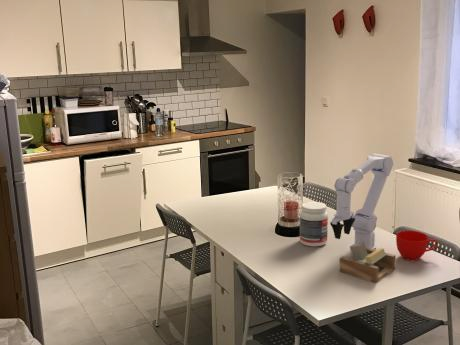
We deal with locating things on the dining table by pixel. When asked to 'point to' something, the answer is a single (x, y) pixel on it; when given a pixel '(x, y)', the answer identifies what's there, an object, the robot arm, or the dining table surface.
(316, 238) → the supplement tub
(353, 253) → the granite block
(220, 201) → the dining table surface
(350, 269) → the frame
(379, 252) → the trapdoor
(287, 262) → the dining table surface
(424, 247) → the ceramic cup
